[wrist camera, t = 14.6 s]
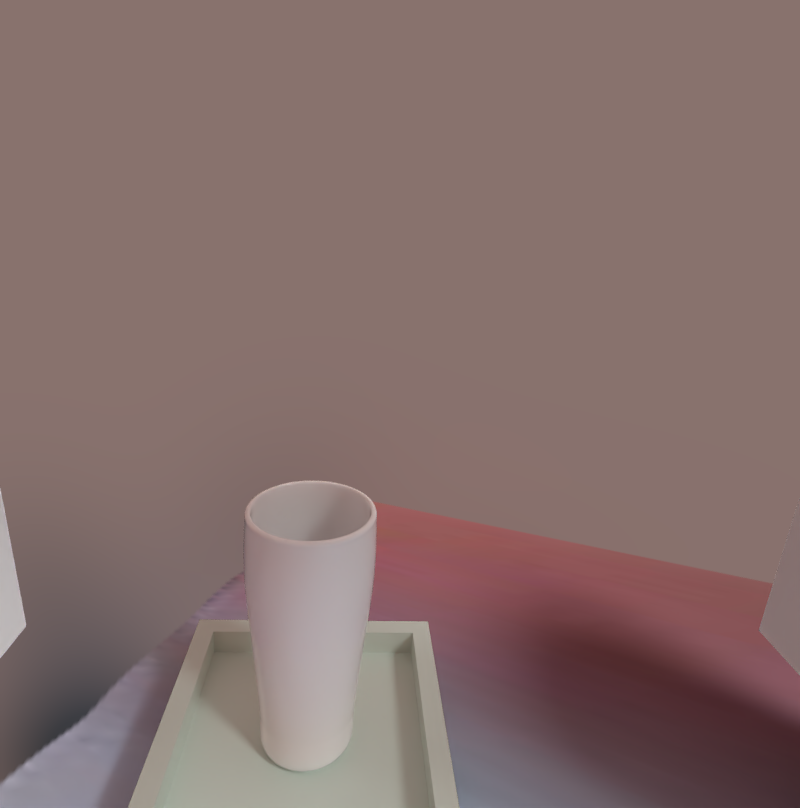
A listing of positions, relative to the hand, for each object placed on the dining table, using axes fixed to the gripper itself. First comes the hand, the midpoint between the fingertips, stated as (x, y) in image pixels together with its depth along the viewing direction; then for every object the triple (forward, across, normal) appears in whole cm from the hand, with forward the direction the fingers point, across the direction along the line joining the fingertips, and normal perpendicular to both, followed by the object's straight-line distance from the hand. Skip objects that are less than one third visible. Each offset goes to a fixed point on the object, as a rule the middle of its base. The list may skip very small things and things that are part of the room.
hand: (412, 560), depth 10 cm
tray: (+18, -4, -25) cm, 31 cm away
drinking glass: (+18, -4, -24) cm, 30 cm away
